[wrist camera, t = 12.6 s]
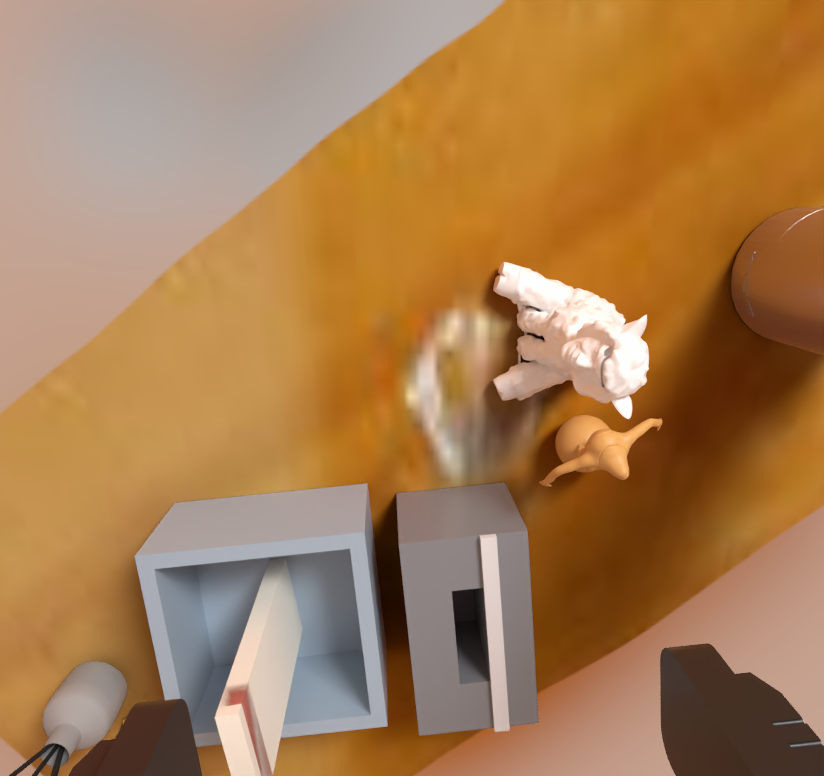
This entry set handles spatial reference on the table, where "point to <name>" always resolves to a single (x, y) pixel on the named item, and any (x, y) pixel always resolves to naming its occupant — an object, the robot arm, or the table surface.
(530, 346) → the white creature statuette
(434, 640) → the dispenser
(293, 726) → the bin
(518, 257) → the table surface
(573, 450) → the figurine
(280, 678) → the ticket
